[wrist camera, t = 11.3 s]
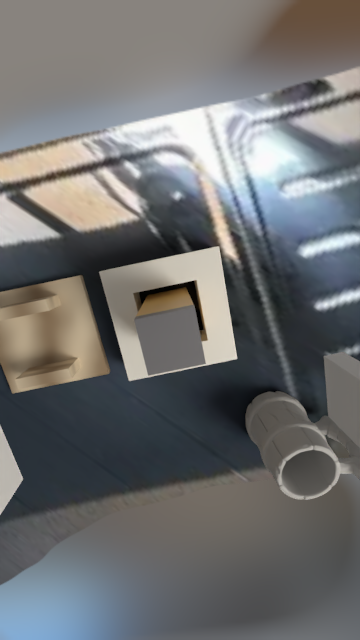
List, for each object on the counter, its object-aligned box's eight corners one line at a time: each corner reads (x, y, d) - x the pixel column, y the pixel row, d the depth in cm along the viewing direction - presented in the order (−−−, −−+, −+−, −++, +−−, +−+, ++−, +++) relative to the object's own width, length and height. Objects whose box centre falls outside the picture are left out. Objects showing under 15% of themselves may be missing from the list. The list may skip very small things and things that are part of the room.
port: (133, 366, 33) (129, 380, 29) (108, 269, 30) (98, 271, 26) (229, 346, 33) (237, 358, 29) (212, 247, 30) (219, 246, 26)
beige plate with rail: (16, 390, 33) (-3, 407, 30) (-21, 296, 30) (-47, 302, 27) (110, 370, 33) (102, 385, 29) (82, 274, 30) (69, 277, 27)
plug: (156, 331, 32) (148, 375, 20) (147, 294, 31) (134, 319, 19) (193, 323, 32) (205, 363, 20) (185, 287, 31) (194, 307, 19)
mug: (243, 389, 34) (281, 458, 23) (334, 386, 35) (416, 453, 23) (241, 440, 36) (274, 528, 25) (327, 437, 37) (400, 523, 25)
